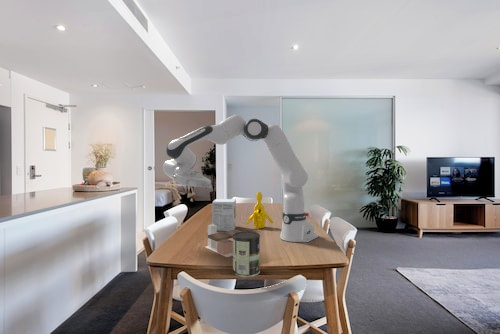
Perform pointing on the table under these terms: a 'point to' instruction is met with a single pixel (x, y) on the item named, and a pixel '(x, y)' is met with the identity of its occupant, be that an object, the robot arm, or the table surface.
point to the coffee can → (246, 254)
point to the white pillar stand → (211, 243)
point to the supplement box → (224, 214)
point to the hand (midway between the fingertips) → (203, 186)
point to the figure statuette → (259, 214)
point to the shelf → (223, 235)
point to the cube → (225, 247)
